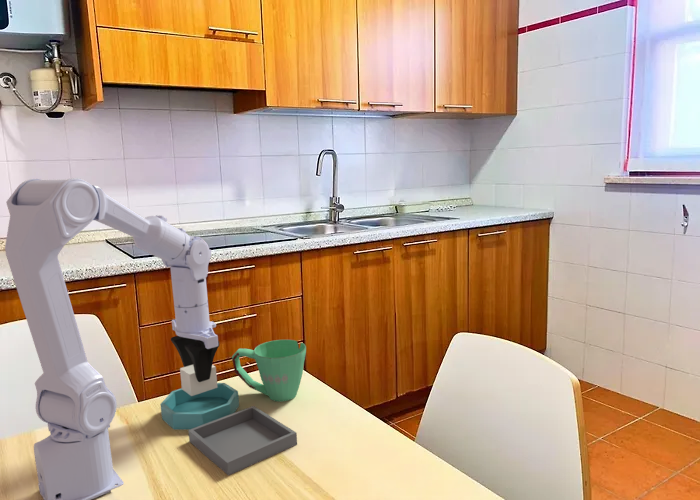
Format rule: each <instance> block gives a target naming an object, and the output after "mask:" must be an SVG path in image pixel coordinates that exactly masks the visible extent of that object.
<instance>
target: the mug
mask: <svg viewBox="0 0 700 500" xmlns="http://www.w3.org/2000/svg"><path fill="white" fill-rule="evenodd" d="M306 353H307V346H306V344H305V343H303V342H300V346H299V342H298V340H295V339H276V340H275V339H274V340H271V341H266V342H263V343H260V344H258V345H257V346H255V348H254V350H253V349H250V348H238V349H237V350H236V351H235V352H234V353H233V354H232V356H231V359H232V360H231V361H232V364H233V371H234V374H236V375H237V376H238V377H239V378H240V379H241V380H242V382H243V383H245V384H246V385H247V386H248V388H250V389H252V390H255V391H257V392H258V393H261V394H263V395H265V396H267V397H268V398H269V399H270V400H271V401H273V402H278V403H279V402H289V401H291V400H293V399H295V398H296V396H297V395H298V392H299V388H300V384H301V382H302V377H303V375H304V374H303V373H304V366H305V359H306V355H307V354H306ZM241 357H246V358H249V359H253V360H255V363H256V366H257V370H258V372H259V377H260V380H261V382H262V383H261V382H258V381H255V380H254V379H253V378H252V377H251V376H250V374H248V373H247V371H246V370H245V369H244V368H243V366H241V361H240V358H241Z"/></svg>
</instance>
